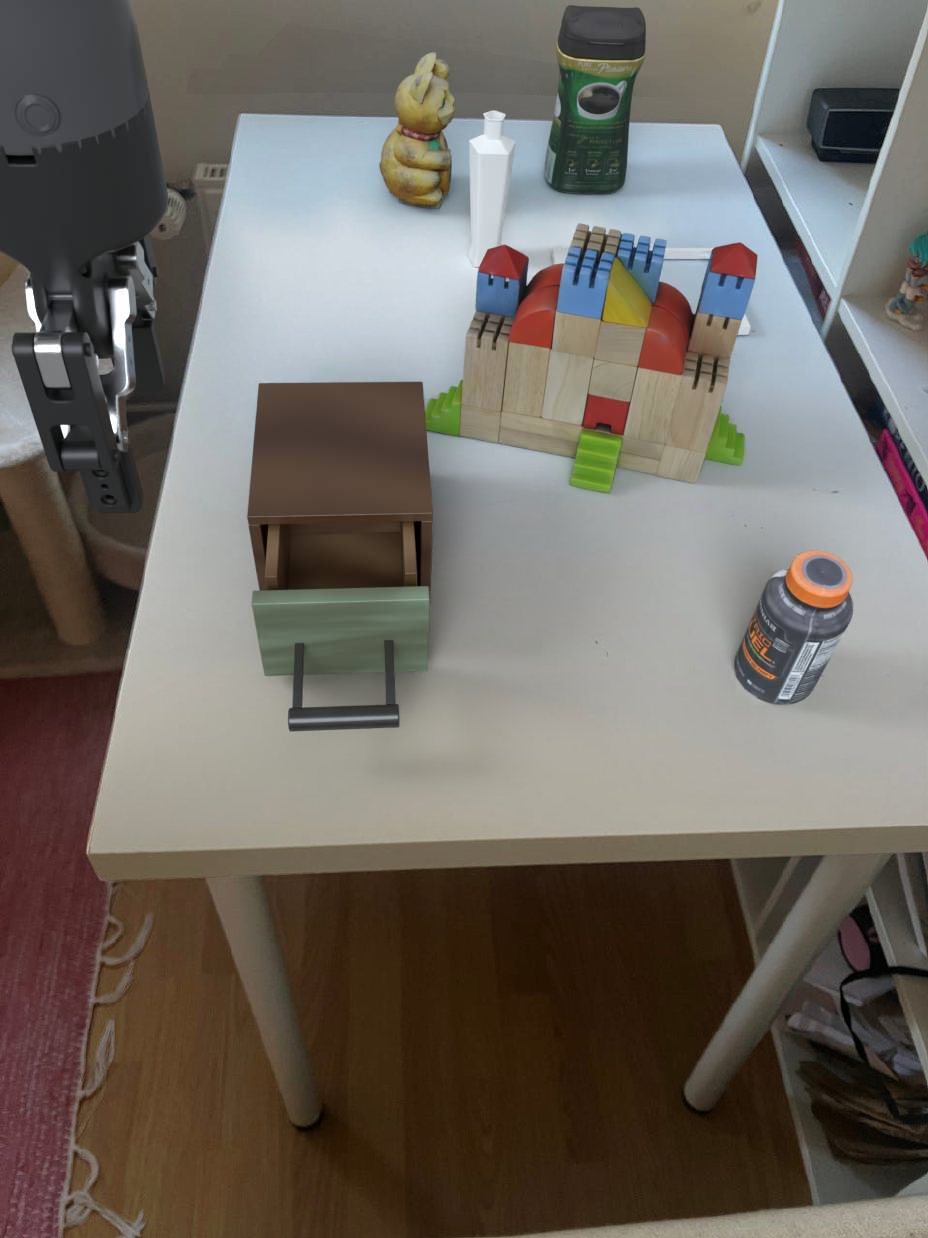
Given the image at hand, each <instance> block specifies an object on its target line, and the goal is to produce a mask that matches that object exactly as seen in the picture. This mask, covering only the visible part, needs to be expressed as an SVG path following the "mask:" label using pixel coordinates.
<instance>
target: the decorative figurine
mask: <svg viewBox="0 0 928 1238" xmlns="http://www.w3.org/2000/svg"><path fill="white" fill-rule="evenodd" d="M437 54H438V52H433V51H432V52H429V53H427V54H425V55H424V56H422V57H421V58H420V59H419V61H418V62H417V64H416V66H415V69H414V73H413V74H410V75H409V76H406V77H405V79H403V80H402V81H401V82H400V83H399V85H398V86H397V88H396V92H395V95H394V99H393V103H394V110H395V114H396V116H397V119H398V121H397V124H396V126H395V127H394V128H393V129H392V131H391V132H389V134H388V135H387V137H386V138H385V141H384V143H383V144H382V145H383V146H382V149H381V152H380V153H381V154H380V155H381V156H380V161H379V164H378V165H379V171H380V175H381V176H382V179H383V182H384V183H385V186H386V188H387V189H388V191H389V193H390V194H391V195H393V197H395V198H397V199H398V203H399V204H406V205H413V206H420V207H421V208H430V209H440V208H441V204H442V203H444V196H445V197H447V196H448V195H449V191H450V188H451V182H452V166H453V161H452V158H453V157H452V154H451V148H449V146H448V142H447V138H446V136H445V133H444V130H445V129H447V127H448V125H449V124H450V123H452V121H453V119H454V117H455V112H456V99H455V97H454V95H452V93H451V90H450V83H449V82H448V81H447V79H448V77H449V76H450V74H451V69H450V67H449V64H448V62H447V61H445V60H443V59H440V58H438V59H437Z"/></svg>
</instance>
